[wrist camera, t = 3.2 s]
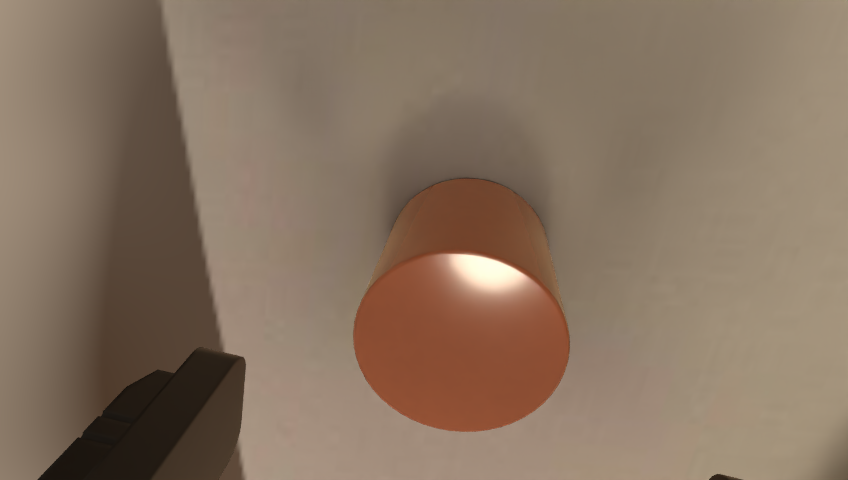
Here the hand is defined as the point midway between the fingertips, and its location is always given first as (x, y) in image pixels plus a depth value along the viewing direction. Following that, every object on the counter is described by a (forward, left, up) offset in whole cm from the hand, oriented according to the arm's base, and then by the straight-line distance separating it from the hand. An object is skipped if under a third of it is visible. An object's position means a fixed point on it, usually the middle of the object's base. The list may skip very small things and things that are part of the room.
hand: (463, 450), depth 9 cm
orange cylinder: (0, 0, -8) cm, 8 cm away
